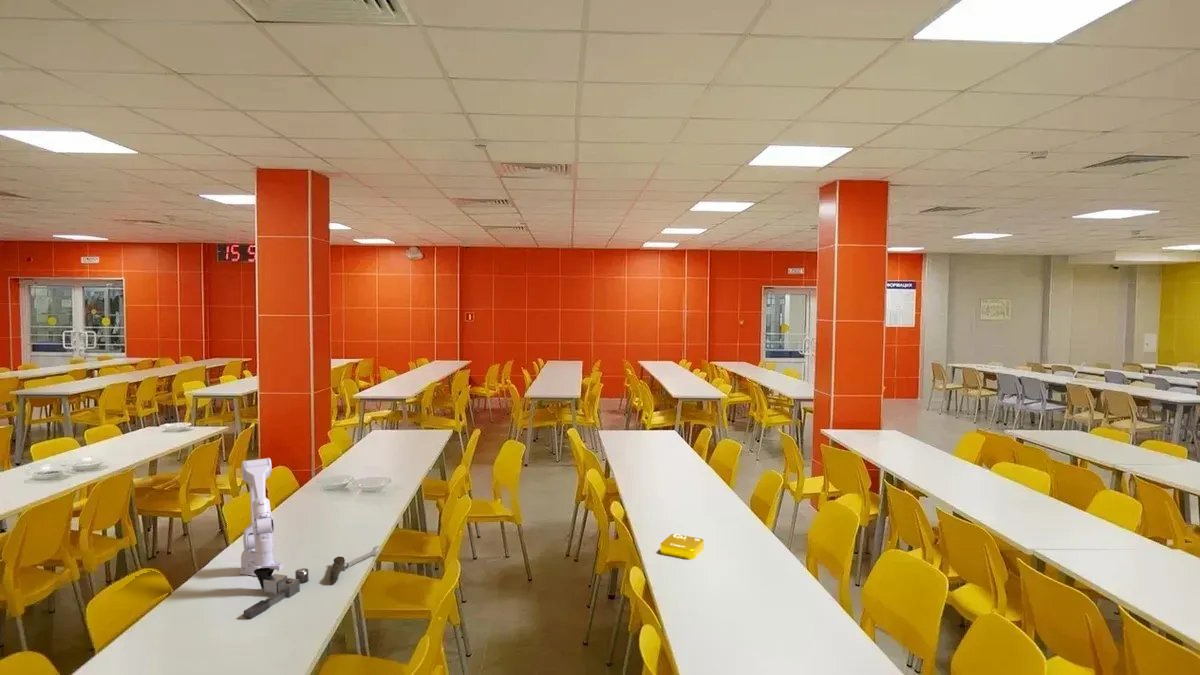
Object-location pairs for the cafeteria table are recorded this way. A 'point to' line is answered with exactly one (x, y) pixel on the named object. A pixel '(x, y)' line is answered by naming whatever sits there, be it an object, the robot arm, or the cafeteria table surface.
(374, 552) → the combination wrench
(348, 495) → the cafeteria table surface
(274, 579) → the grey block
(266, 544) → the robot arm
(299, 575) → the socket
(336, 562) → the rough brown wooden log
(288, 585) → the ratchet
